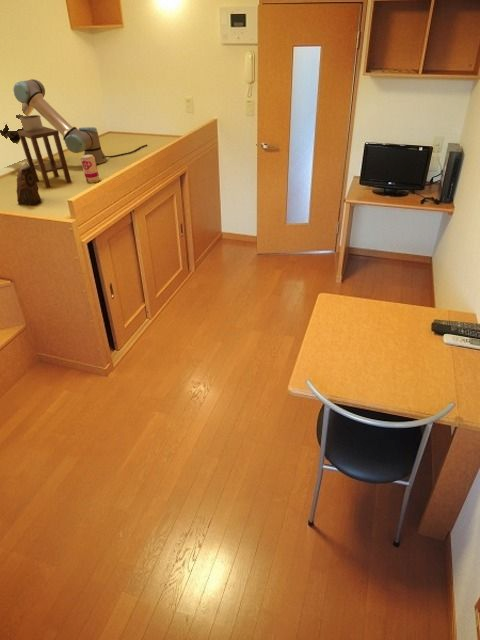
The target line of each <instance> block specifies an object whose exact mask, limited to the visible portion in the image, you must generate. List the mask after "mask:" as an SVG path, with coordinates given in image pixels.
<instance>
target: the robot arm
mask: <svg viewBox="0 0 480 640" xmlns="http://www.w3.org/2000/svg"><path fill="white" fill-rule="evenodd" d="M12 91H13V96H14V97H15V99H16V100H17V101H18V102H19V103H20V104H21V103H22V111H23V113H24V114H25V115H26V116H31V113H33V111H34V110H35V111H36V112H38V114H40V116H41V117H43V119H45V120H46V121H47V123H48V124H50V126H52V127H53V128H54V130H58V132H59V135H61V136H62V140H63V141H64V144H65V147H66V148H67V150H68V151H70V152H72V153H73V154H79V153H83V155H89V154H91V155H93V156H94V157H95V161H96V165H100V164H104V163H106V162H107V158H115V157H120V156H124V155H125V156H126V155H130V154H132V153H135V152H137V151H139V150H140V149H142V148H144V147H147V146H148V144H147V143H146V144H143V145H141V146H139V147H137V148H136V149H134V150H132V151H128V152H123V153H119V154H114V155H105V153H104V152H103V150H102V147H101V142H100V137H99V133H98V129H97V128H96V127H93V126H85V127H83V126H82V127H79V128H77V127H76V126H72V124H70V123H69V122H68V121H67V120H66V119H65V118H64V117H63V116H62V115H61V114H60V113H58V112H57V111H56V109H55V108H54V107H52V106H51V105H50V103H49V102H48V101H46V100H45V99H44V98H45V95H46V88H45V85H44V84H43V83H42V82H41V81H40V80H37V79H34V78H33V79H32V78H31V79H28V80H20V81H18V82H15V84H14V85H13V89H12ZM8 130H9V128H8V126H7V124H6V125H5V128H4V129H3V131H2V130H0V133H1V135H2V136H4V137H5V138H6V139H7V138H8V137H9V138H10V140H11V141H12V142H13V143H16V144H18V143H19V144H20V142H21V139H20V136H19V135H18V131H21V130H24V129H23V127H22V129H18V130H17V131H8ZM19 144H18V145H19Z"/></svg>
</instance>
